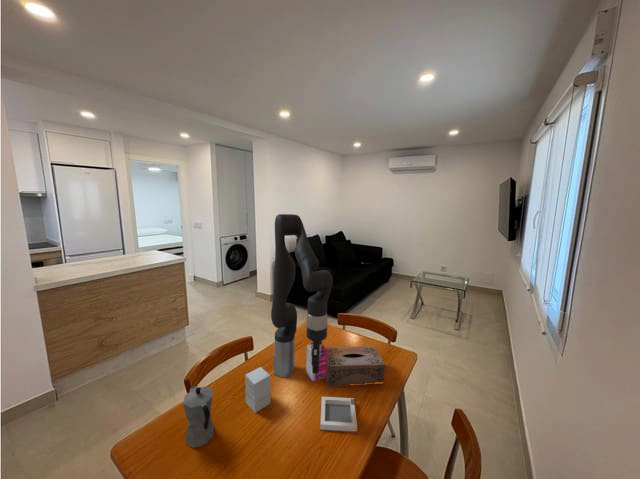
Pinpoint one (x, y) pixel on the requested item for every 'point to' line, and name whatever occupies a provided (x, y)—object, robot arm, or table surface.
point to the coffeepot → (198, 416)
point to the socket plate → (338, 414)
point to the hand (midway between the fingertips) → (316, 365)
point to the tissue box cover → (354, 366)
